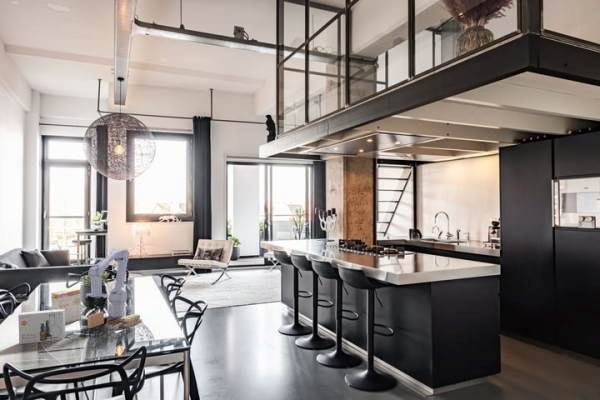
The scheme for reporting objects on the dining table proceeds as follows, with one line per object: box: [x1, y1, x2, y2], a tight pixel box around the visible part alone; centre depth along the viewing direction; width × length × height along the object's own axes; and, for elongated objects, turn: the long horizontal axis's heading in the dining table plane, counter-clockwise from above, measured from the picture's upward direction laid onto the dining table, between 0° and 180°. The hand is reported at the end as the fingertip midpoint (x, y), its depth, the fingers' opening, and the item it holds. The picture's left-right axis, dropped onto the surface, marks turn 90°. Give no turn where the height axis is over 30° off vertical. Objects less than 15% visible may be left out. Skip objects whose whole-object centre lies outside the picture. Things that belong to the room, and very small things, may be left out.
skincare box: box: [18, 309, 66, 345], centre depth 222 cm, size 21×6×16 cm, turn 106°
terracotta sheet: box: [87, 311, 105, 329], centre depth 244 cm, size 2×10×8 cm, turn 160°
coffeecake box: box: [50, 288, 82, 325], centre depth 259 cm, size 15×7×20 cm, turn 149°
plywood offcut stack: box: [119, 313, 143, 328], centre depth 245 cm, size 7×11×4 cm, turn 160°
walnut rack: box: [105, 317, 143, 328], centre depth 247 cm, size 19×12×2 cm, turn 70°
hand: (97, 309), depth 246 cm, fingers open, 7 cm apart
